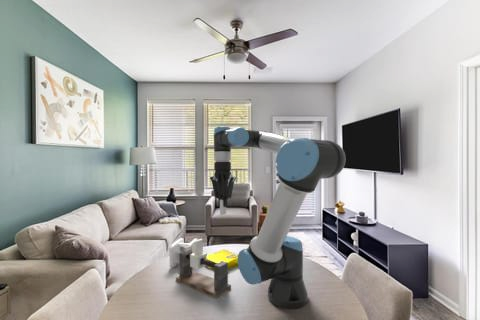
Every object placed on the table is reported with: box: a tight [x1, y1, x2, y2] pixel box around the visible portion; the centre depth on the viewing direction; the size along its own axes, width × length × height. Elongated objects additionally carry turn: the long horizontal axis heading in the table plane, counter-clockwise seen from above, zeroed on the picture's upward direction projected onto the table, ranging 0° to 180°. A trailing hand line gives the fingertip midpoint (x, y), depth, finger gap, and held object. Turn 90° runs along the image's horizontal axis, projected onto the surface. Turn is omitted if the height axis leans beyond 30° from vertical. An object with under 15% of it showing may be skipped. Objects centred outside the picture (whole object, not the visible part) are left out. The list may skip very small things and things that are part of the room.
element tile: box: [206, 249, 239, 271], centre depth 126 cm, size 15×15×5 cm
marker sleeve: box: [190, 238, 208, 270], centre depth 106 cm, size 5×5×11 cm
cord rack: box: [175, 244, 232, 299], centre depth 104 cm, size 24×9×14 cm, turn 54°
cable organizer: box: [168, 237, 199, 268], centre depth 126 cm, size 15×11×12 cm
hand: (223, 214), depth 108 cm, fingers closed
